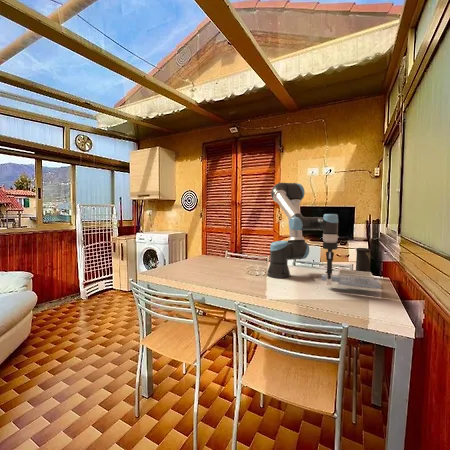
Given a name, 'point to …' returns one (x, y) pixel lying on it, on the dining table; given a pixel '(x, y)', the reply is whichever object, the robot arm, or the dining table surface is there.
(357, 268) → the container
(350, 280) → the grey segmented tray
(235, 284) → the dining table surface
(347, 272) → the tub
